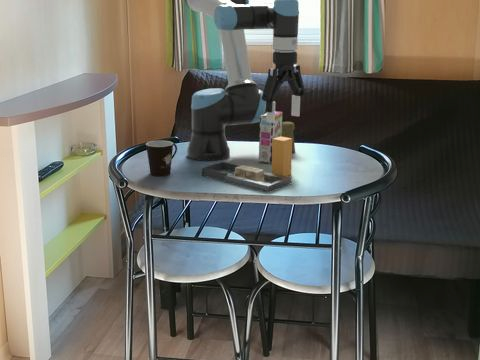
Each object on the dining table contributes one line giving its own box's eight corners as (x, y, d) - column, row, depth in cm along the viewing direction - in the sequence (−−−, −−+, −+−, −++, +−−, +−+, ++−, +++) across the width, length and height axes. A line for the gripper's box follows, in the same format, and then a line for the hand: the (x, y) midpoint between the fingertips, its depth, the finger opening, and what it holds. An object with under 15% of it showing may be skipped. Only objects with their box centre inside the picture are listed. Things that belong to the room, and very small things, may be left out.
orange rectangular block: (271, 175, 218) (272, 138, 214) (279, 172, 221) (280, 136, 218) (283, 177, 215) (284, 140, 212) (291, 174, 219) (292, 138, 215)
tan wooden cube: (246, 182, 210) (246, 170, 209) (253, 179, 213) (254, 167, 212) (256, 185, 207) (256, 172, 206) (264, 182, 210) (264, 169, 209)
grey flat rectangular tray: (224, 181, 210) (224, 175, 210) (248, 173, 219) (248, 167, 219) (268, 192, 200) (268, 186, 199) (291, 183, 209) (291, 177, 208)
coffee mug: (152, 178, 213) (151, 148, 210) (143, 172, 220) (142, 142, 217) (186, 174, 218) (186, 144, 215) (176, 167, 225) (175, 138, 222)
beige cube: (234, 180, 213) (234, 167, 211) (242, 177, 216) (242, 165, 214) (244, 182, 210) (245, 170, 209) (252, 179, 213) (252, 167, 212)
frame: (201, 175, 217) (201, 168, 216) (223, 168, 225) (223, 161, 224) (225, 181, 211) (225, 173, 210) (246, 174, 219) (246, 166, 218)
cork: (284, 148, 251) (285, 119, 248) (298, 151, 248) (299, 121, 245) (275, 152, 247) (276, 122, 243) (289, 154, 243) (290, 124, 240)
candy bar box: (272, 164, 230) (273, 116, 226) (258, 162, 232) (259, 115, 227) (281, 156, 240) (283, 111, 236) (268, 155, 242) (269, 110, 237)
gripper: (271, 55, 195) (269, 127, 201) (317, 48, 214) (314, 114, 220) (250, 53, 200) (249, 123, 206) (297, 47, 218) (295, 111, 225)
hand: (283, 119), depth 213 cm, fingers open, 13 cm apart
